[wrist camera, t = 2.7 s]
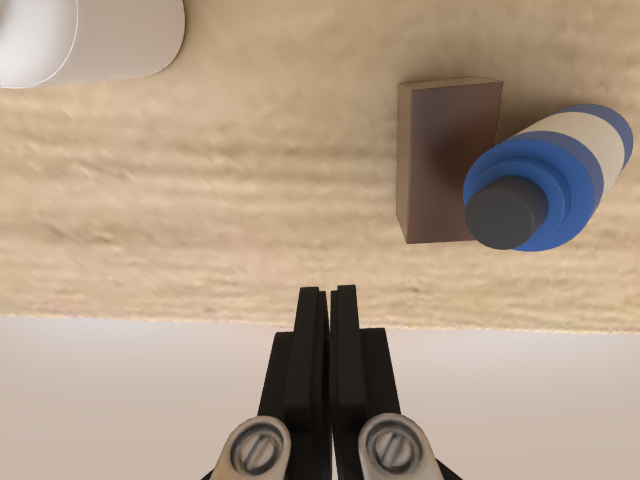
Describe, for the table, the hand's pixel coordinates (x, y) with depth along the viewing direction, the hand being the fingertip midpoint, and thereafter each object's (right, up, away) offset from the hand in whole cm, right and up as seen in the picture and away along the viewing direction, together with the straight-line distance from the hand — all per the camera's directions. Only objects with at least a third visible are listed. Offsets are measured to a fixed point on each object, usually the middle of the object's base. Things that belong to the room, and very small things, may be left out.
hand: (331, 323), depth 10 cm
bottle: (+13, +10, +15) cm, 22 cm away
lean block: (+8, +9, +15) cm, 19 cm away
